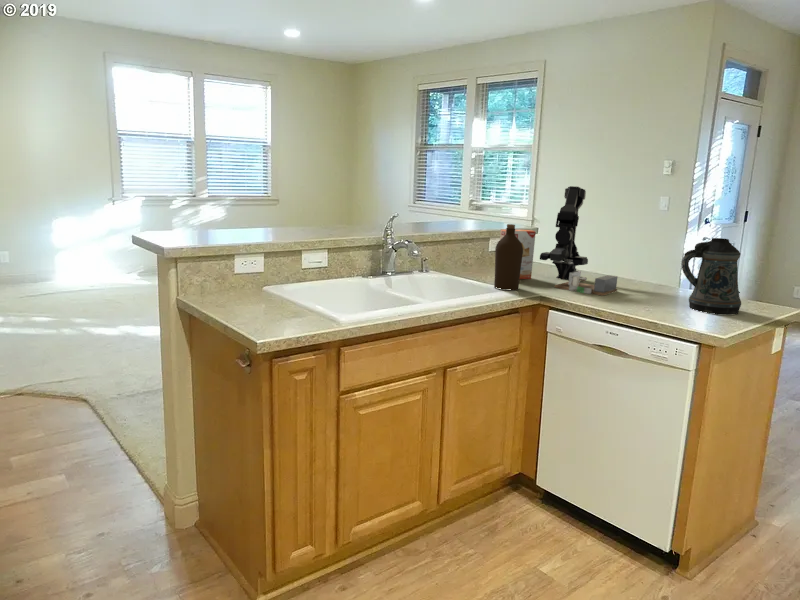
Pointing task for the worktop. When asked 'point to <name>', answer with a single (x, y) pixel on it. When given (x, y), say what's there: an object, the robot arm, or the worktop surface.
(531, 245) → the cracker box
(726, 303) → the beer stein
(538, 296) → the worktop surface
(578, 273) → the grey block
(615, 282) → the grey rectangular block
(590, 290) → the gauge base
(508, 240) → the olive oil
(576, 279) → the telltale
